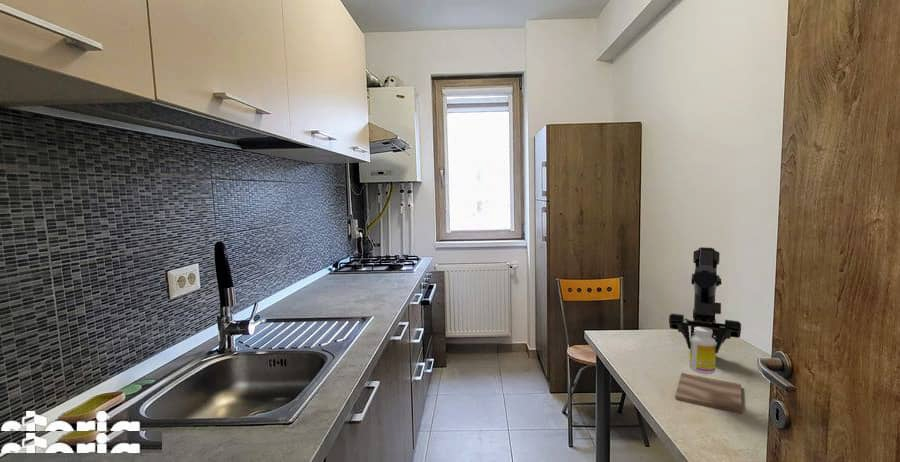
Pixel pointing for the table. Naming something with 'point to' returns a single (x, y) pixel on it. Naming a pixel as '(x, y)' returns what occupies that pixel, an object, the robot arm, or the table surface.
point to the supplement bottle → (702, 351)
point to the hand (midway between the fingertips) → (702, 350)
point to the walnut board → (710, 392)
